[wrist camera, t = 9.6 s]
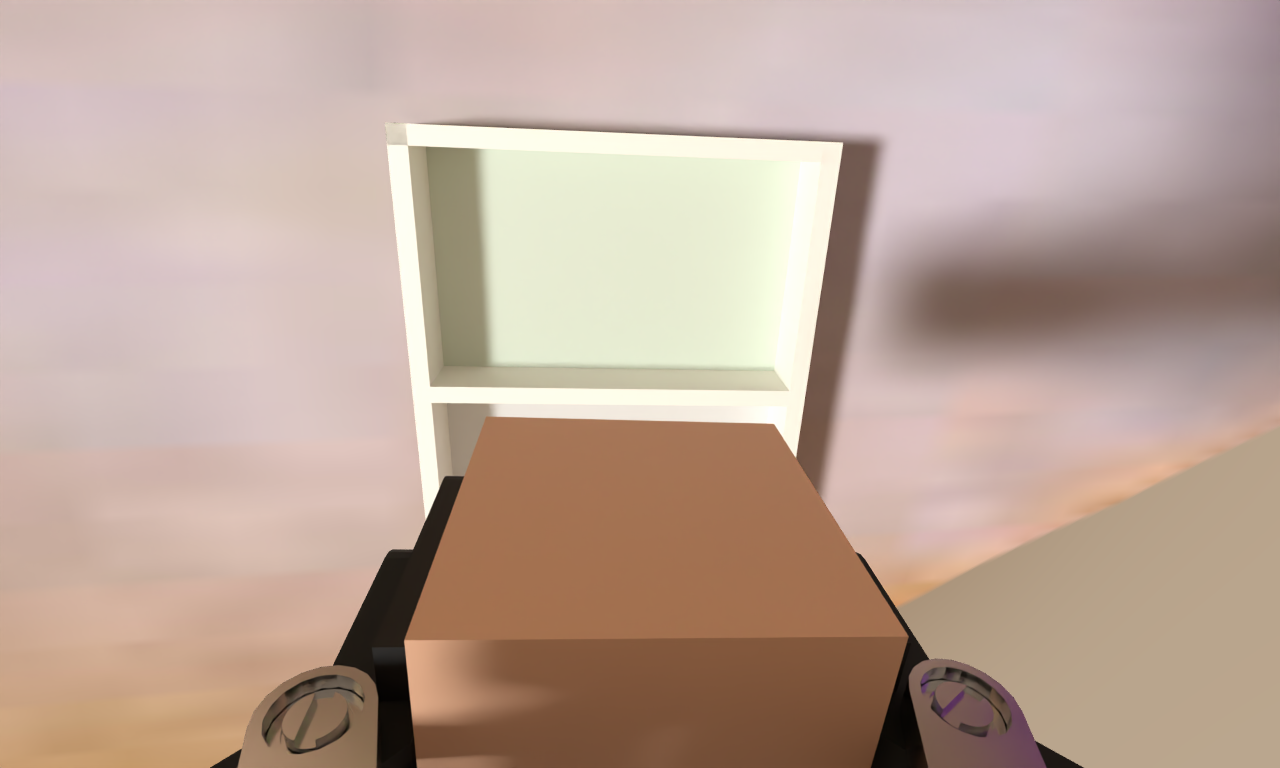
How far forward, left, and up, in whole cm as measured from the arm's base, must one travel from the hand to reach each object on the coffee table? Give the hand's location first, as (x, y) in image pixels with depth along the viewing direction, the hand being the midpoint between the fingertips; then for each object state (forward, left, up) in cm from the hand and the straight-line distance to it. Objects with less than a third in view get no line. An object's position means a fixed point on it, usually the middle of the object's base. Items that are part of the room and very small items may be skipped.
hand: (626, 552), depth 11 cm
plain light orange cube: (0, 0, 0) cm, 0 cm away
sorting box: (+3, 0, -17) cm, 17 cm away
